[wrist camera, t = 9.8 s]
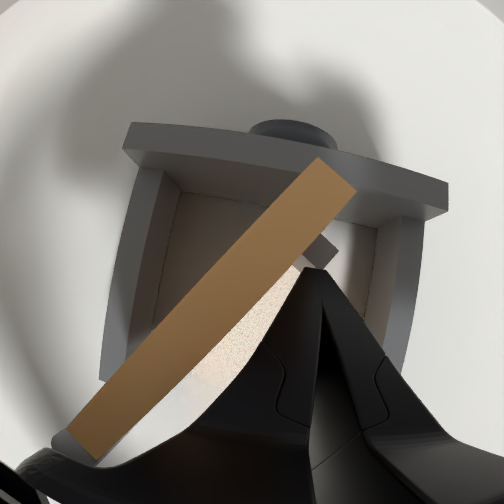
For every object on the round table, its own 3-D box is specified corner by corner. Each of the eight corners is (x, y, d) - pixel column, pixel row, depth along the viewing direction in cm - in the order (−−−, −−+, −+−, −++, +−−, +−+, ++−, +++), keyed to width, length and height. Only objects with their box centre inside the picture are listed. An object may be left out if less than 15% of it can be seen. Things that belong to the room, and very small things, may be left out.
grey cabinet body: (362, 410, 14) (399, 452, 9) (125, 365, 14) (75, 391, 9) (400, 191, 15) (447, 156, 10) (171, 147, 16) (141, 98, 11)
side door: (310, 262, 15) (386, 219, 5) (182, 395, 14) (100, 500, 5) (281, 235, 15) (314, 153, 6) (154, 369, 14) (45, 446, 5)
